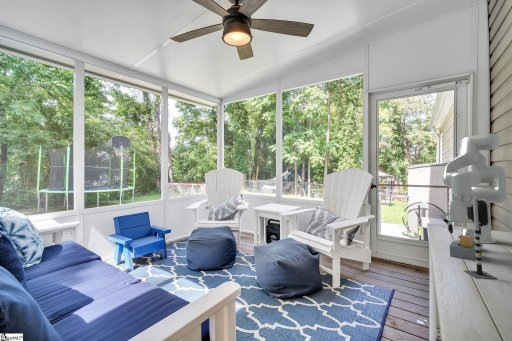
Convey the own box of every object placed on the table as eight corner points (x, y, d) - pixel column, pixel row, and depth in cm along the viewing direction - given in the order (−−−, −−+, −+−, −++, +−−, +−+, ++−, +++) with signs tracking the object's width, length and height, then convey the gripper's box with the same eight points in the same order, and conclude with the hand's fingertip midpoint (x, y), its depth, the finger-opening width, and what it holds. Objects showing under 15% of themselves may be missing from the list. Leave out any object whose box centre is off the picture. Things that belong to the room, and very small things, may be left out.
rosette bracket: (456, 244, 132) (455, 226, 132) (484, 248, 124) (483, 228, 124) (449, 256, 114) (447, 234, 115) (480, 261, 106) (479, 238, 107)
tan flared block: (461, 253, 117) (459, 234, 117) (474, 256, 113) (473, 236, 114) (459, 255, 115) (458, 236, 115) (473, 257, 111) (471, 237, 111)
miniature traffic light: (499, 279, 88) (494, 197, 89) (475, 278, 90) (470, 197, 91) (484, 271, 96) (479, 195, 97) (462, 270, 97) (458, 196, 98)
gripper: (487, 198, 111) (490, 235, 111) (441, 197, 124) (443, 230, 123) (486, 200, 106) (489, 239, 106) (438, 198, 119) (440, 233, 118)
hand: (464, 234), depth 115 cm, fingers open, 9 cm apart
